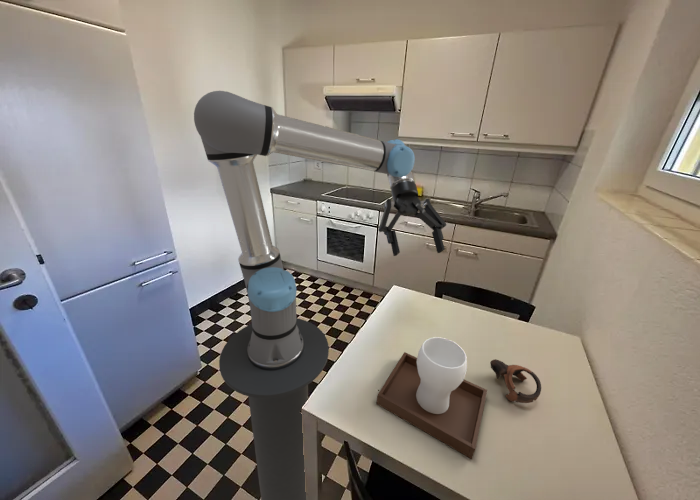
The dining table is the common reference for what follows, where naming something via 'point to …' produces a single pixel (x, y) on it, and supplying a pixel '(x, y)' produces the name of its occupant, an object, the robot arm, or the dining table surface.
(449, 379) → the cup
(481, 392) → the tray
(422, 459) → the dining table surface
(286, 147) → the robot arm
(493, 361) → the brown curled loop
